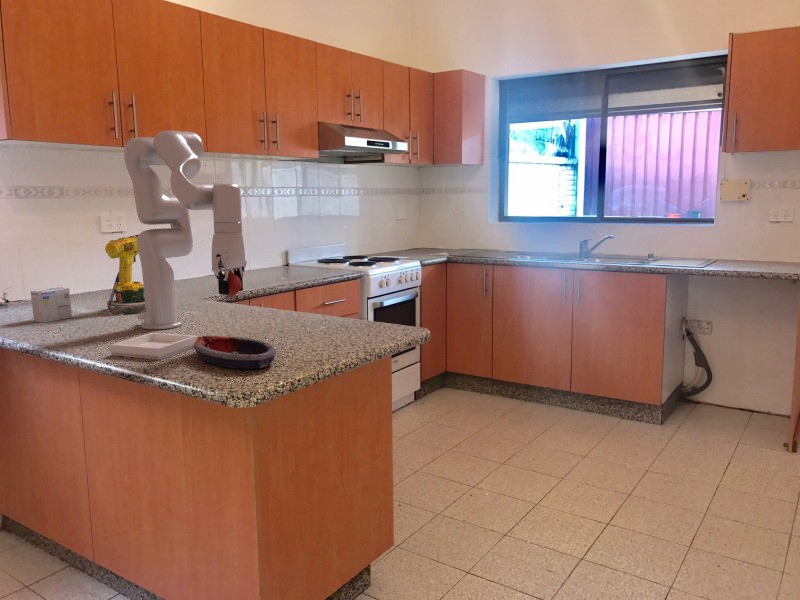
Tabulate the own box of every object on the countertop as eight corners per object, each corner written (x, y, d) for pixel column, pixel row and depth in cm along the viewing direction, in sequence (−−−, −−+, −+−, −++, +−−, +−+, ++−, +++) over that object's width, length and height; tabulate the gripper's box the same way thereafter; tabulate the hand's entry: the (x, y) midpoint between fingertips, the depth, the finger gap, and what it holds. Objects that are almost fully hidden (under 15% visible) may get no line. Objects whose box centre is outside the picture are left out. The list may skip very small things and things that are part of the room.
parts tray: (111, 355, 175) (110, 344, 174) (152, 342, 189) (151, 332, 189) (160, 359, 169) (159, 348, 169) (198, 346, 184) (198, 335, 183)
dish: (237, 378, 152) (236, 357, 151) (178, 356, 174) (177, 338, 173) (293, 365, 162) (292, 346, 161) (230, 346, 184) (229, 329, 183)
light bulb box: (62, 316, 236) (58, 286, 234) (73, 317, 232) (70, 287, 231) (32, 321, 227) (29, 290, 225) (43, 323, 223) (40, 291, 222)
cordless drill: (166, 310, 243) (160, 236, 238) (110, 316, 234) (103, 238, 229) (157, 304, 259) (152, 234, 254) (105, 308, 250) (98, 236, 245)
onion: (216, 297, 185) (215, 269, 184) (234, 295, 189) (233, 267, 188) (227, 300, 181) (226, 271, 180) (245, 297, 185) (244, 269, 184)
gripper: (234, 226, 191) (237, 287, 194) (197, 230, 175) (201, 296, 178) (256, 227, 188) (259, 288, 192) (221, 231, 172) (224, 298, 176)
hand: (231, 291), depth 185 cm, fingers closed on onion, 5 cm apart
